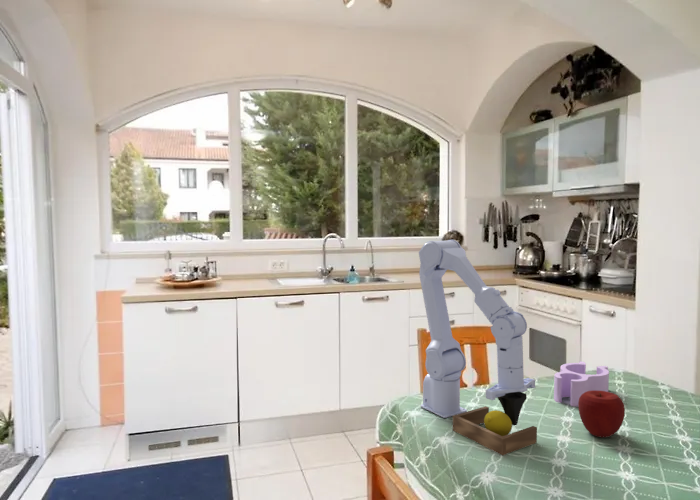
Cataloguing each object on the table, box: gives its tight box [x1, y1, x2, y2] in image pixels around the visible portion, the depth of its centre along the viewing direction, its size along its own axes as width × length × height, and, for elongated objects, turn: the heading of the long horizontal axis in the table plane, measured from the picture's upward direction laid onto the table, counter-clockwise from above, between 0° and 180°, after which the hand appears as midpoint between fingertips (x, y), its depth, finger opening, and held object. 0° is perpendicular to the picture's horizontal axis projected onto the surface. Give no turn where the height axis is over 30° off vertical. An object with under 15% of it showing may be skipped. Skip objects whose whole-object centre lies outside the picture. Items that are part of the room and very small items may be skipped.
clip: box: [553, 361, 610, 407], centre depth 143 cm, size 20×12×7 cm, turn 134°
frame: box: [452, 405, 538, 456], centre depth 116 cm, size 15×11×4 cm
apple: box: [577, 390, 626, 438], centre depth 117 cm, size 10×10×10 cm
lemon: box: [483, 409, 513, 436], centre depth 116 cm, size 6×6×8 cm
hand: (512, 424), depth 118 cm, fingers closed, pressing on lemon
